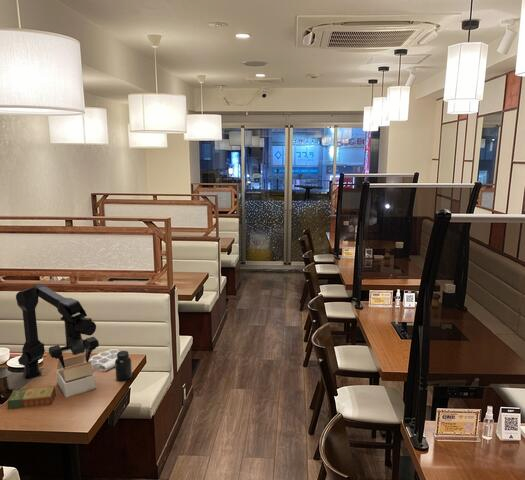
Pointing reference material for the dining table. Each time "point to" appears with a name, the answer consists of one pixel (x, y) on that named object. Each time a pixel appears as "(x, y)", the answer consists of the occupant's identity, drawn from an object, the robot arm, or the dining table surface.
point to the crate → (75, 384)
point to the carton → (31, 397)
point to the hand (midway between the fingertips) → (75, 365)
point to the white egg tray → (104, 360)
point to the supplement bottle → (123, 366)
